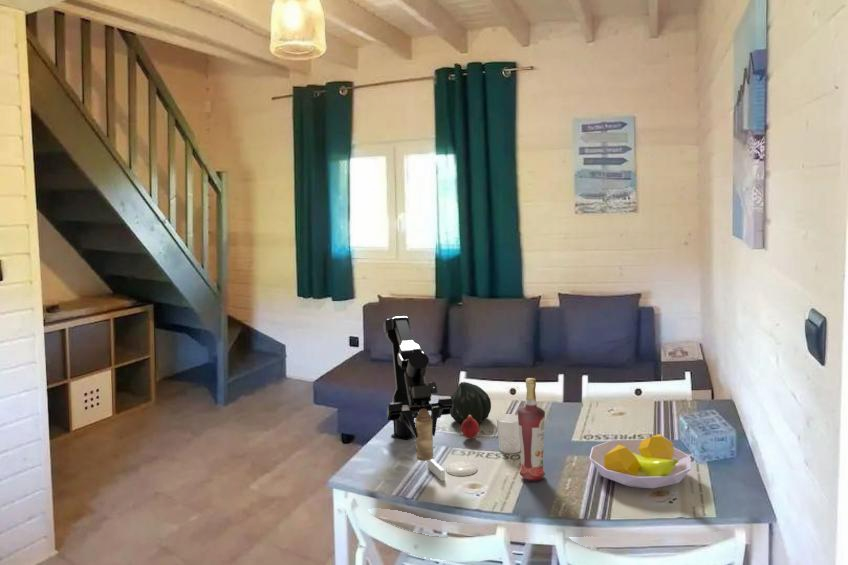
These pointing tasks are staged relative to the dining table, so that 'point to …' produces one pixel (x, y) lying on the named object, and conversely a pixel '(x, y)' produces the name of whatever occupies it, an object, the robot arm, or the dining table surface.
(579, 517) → the dining table surface
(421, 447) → the pepper mill
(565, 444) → the dining table surface
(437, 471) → the divider wall
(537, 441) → the liquor
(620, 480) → the fruit bowl
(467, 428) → the onion
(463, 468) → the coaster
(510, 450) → the white cup
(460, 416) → the squash
